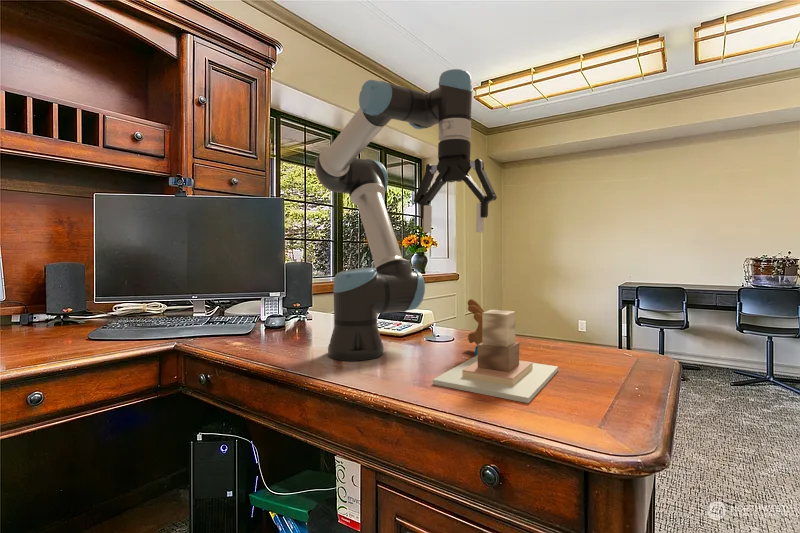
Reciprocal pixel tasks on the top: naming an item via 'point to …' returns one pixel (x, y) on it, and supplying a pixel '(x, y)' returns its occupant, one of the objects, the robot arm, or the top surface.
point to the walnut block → (498, 357)
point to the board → (499, 379)
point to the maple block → (498, 328)
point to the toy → (477, 312)
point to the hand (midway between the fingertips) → (452, 232)
